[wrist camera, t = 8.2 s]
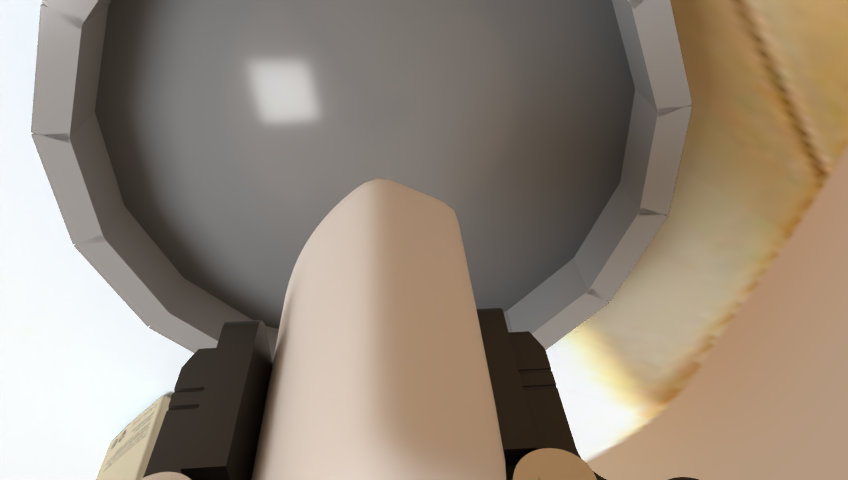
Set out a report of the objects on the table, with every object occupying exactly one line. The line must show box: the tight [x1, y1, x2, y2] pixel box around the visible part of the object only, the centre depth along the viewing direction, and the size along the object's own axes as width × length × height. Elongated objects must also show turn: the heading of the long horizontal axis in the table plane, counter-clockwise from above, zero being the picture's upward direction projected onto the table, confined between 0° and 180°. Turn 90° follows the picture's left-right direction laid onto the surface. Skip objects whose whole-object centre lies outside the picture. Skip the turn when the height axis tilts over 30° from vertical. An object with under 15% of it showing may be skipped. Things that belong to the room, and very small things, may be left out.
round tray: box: [31, 0, 692, 362], centre depth 21 cm, size 19×19×3 cm
